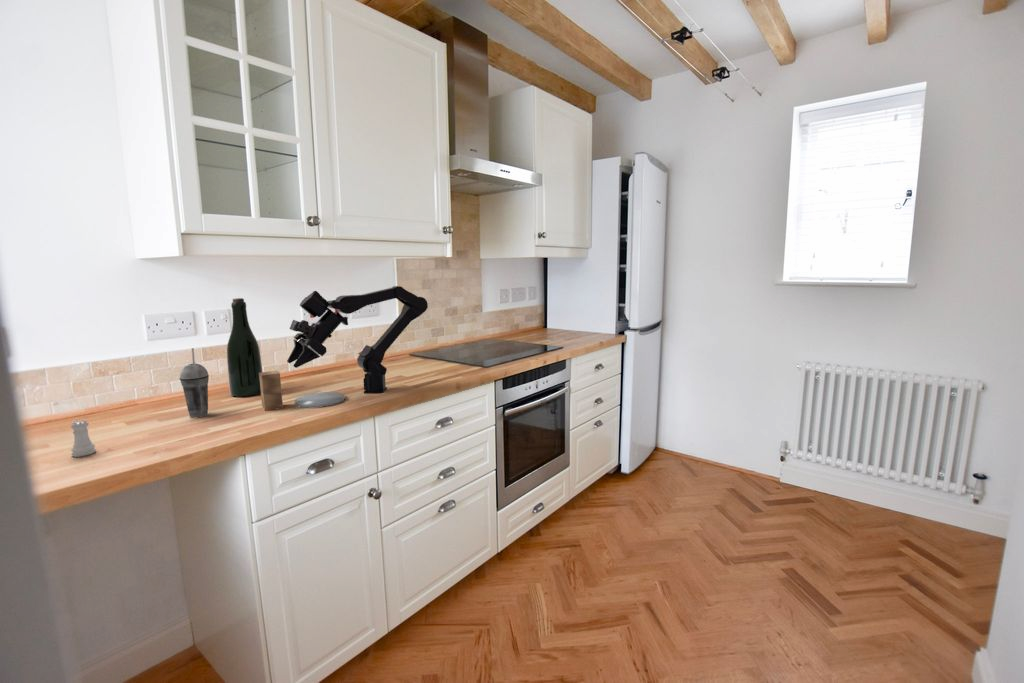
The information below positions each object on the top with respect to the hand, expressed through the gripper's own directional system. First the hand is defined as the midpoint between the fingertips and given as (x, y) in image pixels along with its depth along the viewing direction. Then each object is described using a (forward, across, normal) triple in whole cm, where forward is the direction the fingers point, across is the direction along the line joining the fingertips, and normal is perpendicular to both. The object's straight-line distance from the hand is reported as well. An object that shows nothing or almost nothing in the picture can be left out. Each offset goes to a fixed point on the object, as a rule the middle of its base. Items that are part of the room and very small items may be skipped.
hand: (291, 364), depth 154 cm
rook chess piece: (+44, +14, -26) cm, 53 cm away
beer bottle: (+16, -24, +2) cm, 30 cm away
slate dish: (+4, +2, +14) cm, 15 cm away
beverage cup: (+27, -5, -9) cm, 29 cm away
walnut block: (+14, 0, +4) cm, 14 cm away
